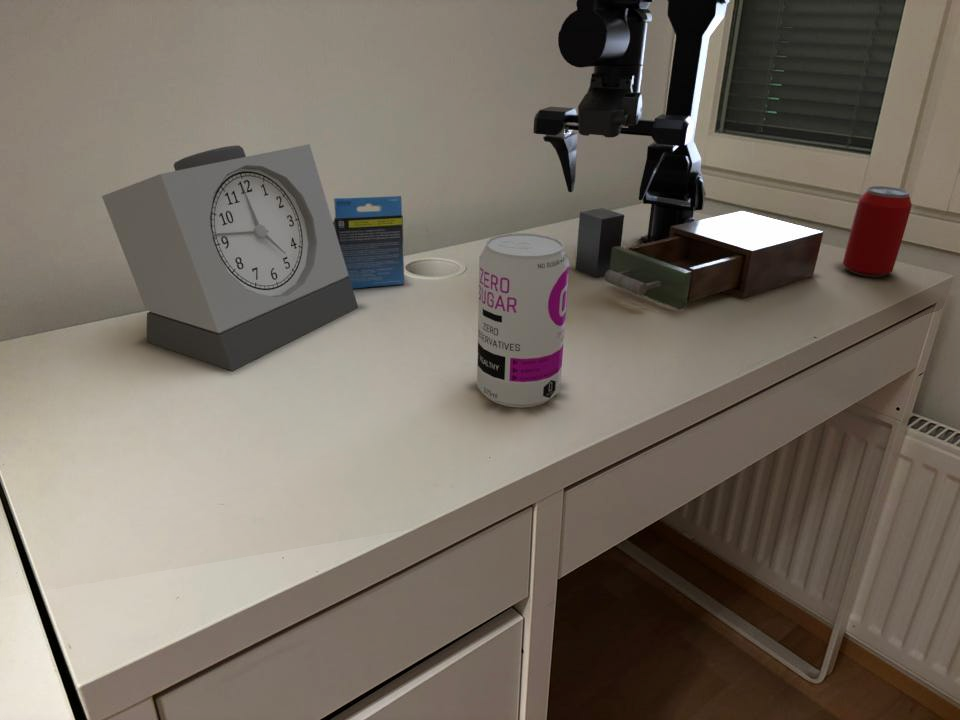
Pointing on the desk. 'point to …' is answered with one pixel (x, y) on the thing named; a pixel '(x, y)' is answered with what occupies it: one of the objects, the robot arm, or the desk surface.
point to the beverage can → (877, 231)
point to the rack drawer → (675, 270)
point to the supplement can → (521, 318)
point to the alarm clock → (233, 253)
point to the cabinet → (759, 248)
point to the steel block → (597, 240)
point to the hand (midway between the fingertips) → (605, 195)
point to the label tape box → (371, 240)
